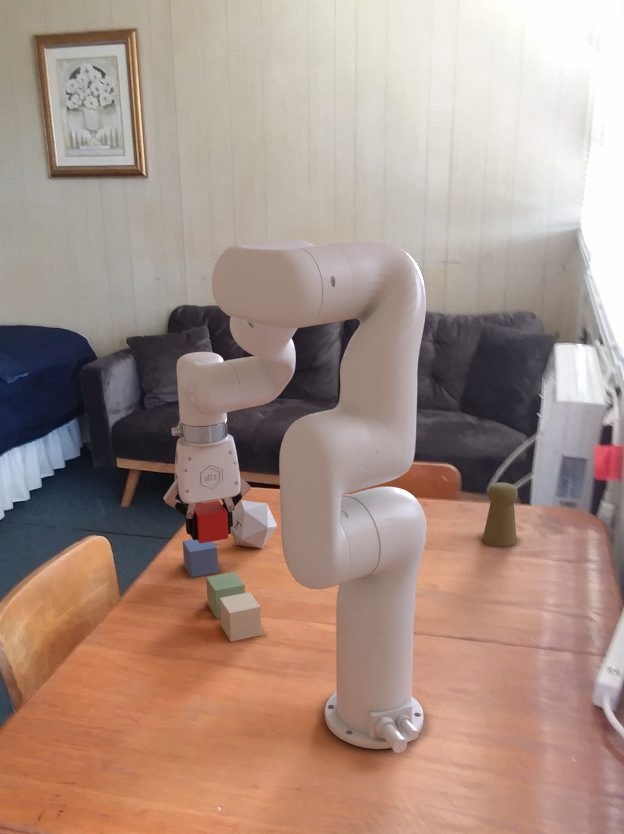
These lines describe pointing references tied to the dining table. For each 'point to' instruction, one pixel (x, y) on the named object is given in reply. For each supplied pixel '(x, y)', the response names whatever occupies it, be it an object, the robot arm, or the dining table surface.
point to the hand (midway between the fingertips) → (209, 533)
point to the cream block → (240, 616)
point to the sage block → (222, 589)
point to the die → (252, 524)
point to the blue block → (200, 557)
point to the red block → (211, 521)
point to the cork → (501, 515)
